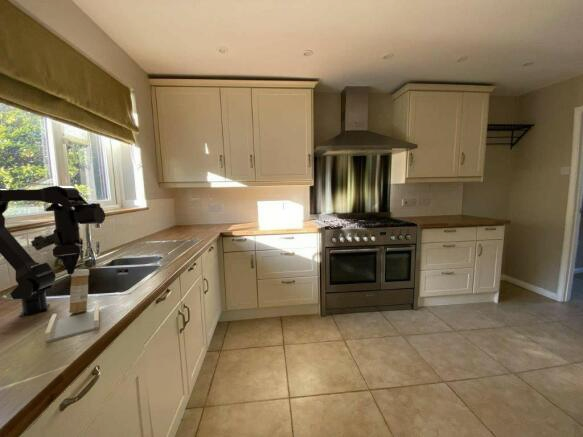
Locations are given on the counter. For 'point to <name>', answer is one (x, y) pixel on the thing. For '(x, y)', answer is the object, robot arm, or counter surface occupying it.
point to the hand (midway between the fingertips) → (71, 270)
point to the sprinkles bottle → (79, 291)
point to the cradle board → (72, 325)
